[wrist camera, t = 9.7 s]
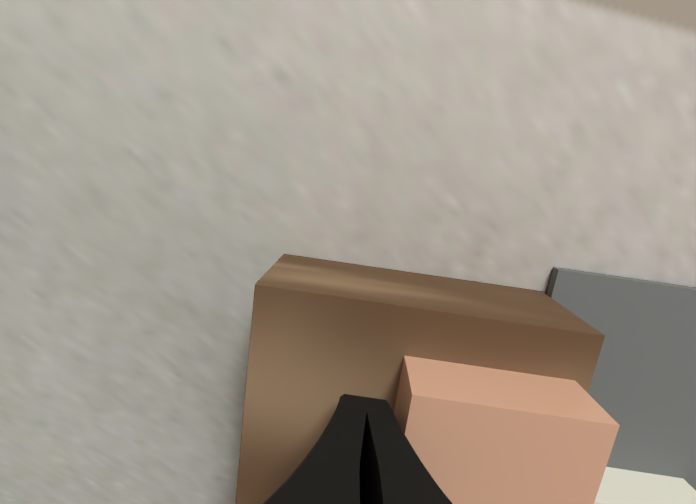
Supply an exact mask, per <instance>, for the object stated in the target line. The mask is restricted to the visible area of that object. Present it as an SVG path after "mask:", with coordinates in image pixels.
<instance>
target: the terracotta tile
mask: <svg viewBox="0 0 696 504" xmlns="http://www.w3.org/2000/svg"><path fill="white" fill-rule="evenodd" d="M394 415H395V417H396V419H397V421H398V423H399V425H400V427H401V428H402V430H403V432H404V434H405V436H406V437H407V439H408V441H409V442H410V444H411V446H412V447H413V449H414V451H415V452H416V454H417V456H418V457H419V459H420V460H421V462H422V463H423V465H424V466H425V468H426V469H427V471H428V472H429V473H430V475H431V476H432V478H433V479H434V481H435V482H436V483H437V485H438V486H439V487H440V489H441V490H442V491H443V493H444V494H445V495H446V496H447V497H448V499H449V500H450V501H451V502H452V504H594V502H595V499H596V496H597V493H598V490H599V487H600V484H601V481H602V478H603V475H604V472H605V469H606V466H607V463H608V460H609V457H610V453H611V450H612V447H613V444H614V441H615V438H616V435H617V432H618V429H619V426H620V425H619V424H618V423H617V422H616V421H615V420H614V419H613V418H612V417H611V416H610V415H609V414H608V413H607V412H606V411H605V410H604V409H603V408H602V407H601V406H600V405H599V404H598V403H597V402H596V401H595V400H594V399H593V398H592V397H591V396H590V395H589V394H588V393H587V392H586V391H585V390H584V389H583V388H582V387H581V386H580V385H579V384H578V383H577V382H576V381H575V380H569V379H562V378H555V377H548V376H541V375H534V374H528V373H521V372H514V371H507V370H500V369H493V368H486V367H480V366H473V365H466V364H459V363H452V362H445V361H439V360H432V359H425V358H418V357H411V356H404V359H403V365H402V370H401V376H400V381H399V387H398V392H397V398H396V403H395V409H394Z"/></svg>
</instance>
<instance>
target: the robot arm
mask: <svg viewBox="0 0 696 504" xmlns="http://www.w3.org/2000/svg"><path fill="white" fill-rule="evenodd" d="M263 504H452V502H451V501H450V500H449V499H448V497H447V496H446V495H445V494H444V493H443V491H442V490H441V489H440V487H439V486H438V485H437V483H436V482H435V481H434V479H433V478H432V476H431V475H430V473H429V472H428V471H427V469H426V468H425V466H424V465H423V463H422V462H421V460H420V459H419V457H418V456H417V454H416V452H415V451H414V449H413V447H412V446H411V444H410V442H409V441H408V439H407V437H406V436H405V434H404V432H403V430H402V428H401V427H400V425H399V423H398V421H397V419H396V417H395V415H394V413H393V411H392V409H391V407H390V405H389V403H388V402H387V400H384V399H377V398H370V397H363V396H356V395H349V394H343V395H342V396H340V398H339V402H338V405H337V408H336V410H335V412H334V414H333V416H332V418H331V420H330V422H329V423H328V425H327V427H326V428H325V430H324V432H323V433H322V435H321V437H320V438H319V440H318V441H317V442H316V444H315V445H314V447H313V448H312V449H311V451H310V452H309V453H308V455H307V456H306V458H305V459H304V460H303V461H302V463H301V464H300V465H299V466H298V468H297V469H296V470H295V471H294V472H293V473H292V474H291V476H290V477H289V478H288V479H287V480H286V481H285V482H284V483H283V484H282V485H281V486H280V487H279V488H278V489H277V490H276V491H275V492H274V493H273V494H272V495H271V496H270V497H269V498H268V499H267V500H266V501H265V502H264V503H263Z"/></svg>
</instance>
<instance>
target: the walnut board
mask: <svg viewBox="0 0 696 504" xmlns="http://www.w3.org/2000/svg"><path fill="white" fill-rule="evenodd" d="M604 338H605V335H603V334H602V333H600V332H599V331H598V330H596V329H595V328H593V327H592V326H590V325H589V324H588V323H586V322H585V321H583V320H582V319H580V318H579V317H578V316H576V315H575V314H573V313H572V312H570V311H569V310H568V309H566V308H565V307H563V306H562V305H560V304H559V303H558V302H556V301H555V300H553V299H552V298H550V297H549V296H548V295H546V294H545V293H543V292H542V291H536V290H529V289H522V288H515V287H508V286H501V285H494V284H487V283H481V282H474V281H467V280H460V279H453V278H446V277H439V276H432V275H425V274H419V273H412V272H405V271H398V270H391V269H384V268H377V267H370V266H363V265H356V264H350V263H343V262H336V261H329V260H322V259H315V258H308V257H301V256H294V255H288V254H284V255H283V256H282V257H281V258H280V259H279V260H278V261H277V262H276V263H275V264H274V265H273V266H272V267H271V268H270V269H269V270H268V271H267V272H266V273H265V275H264V276H263V277H262V278H261V279H260V280H259V281H258V282H257V283H256V284H255V290H254V301H253V312H252V324H251V335H250V346H249V357H248V369H247V380H246V391H245V402H244V414H243V425H242V436H241V448H240V459H239V470H238V481H237V493H236V504H263V503H264V502H265V501H266V500H267V499H268V498H269V497H270V496H271V495H272V494H273V493H274V492H275V491H276V490H277V489H278V488H279V487H280V486H281V485H282V484H283V483H284V482H285V481H286V480H287V479H288V478H289V477H290V476H291V474H292V473H293V472H294V471H295V470H296V469H297V468H298V466H299V465H300V464H301V463H302V461H303V460H304V459H305V458H306V456H307V455H308V453H309V452H310V451H311V449H312V448H313V447H314V445H315V444H316V442H317V441H318V440H319V438H320V437H321V435H322V433H323V432H324V430H325V428H326V427H327V425H328V423H329V422H330V420H331V418H332V416H333V414H334V412H335V410H336V408H337V405H338V402H339V398H340V396H342V395H343V394H349V395H356V396H363V397H370V398H377V399H384V400H387V402H388V403H389V405H390V407H391V409H392V411H393V413H394V409H395V403H396V398H397V392H398V387H399V381H400V376H401V370H402V365H403V359H404V356H411V357H418V358H425V359H432V360H439V361H445V362H452V363H459V364H466V365H473V366H480V367H486V368H493V369H500V370H507V371H514V372H521V373H528V374H534V375H541V376H548V377H555V378H562V379H569V380H575V381H576V382H577V383H578V384H579V385H580V386H581V387H582V388H583V389H584V390H585V391H586V392H587V393H588V390H589V387H590V384H591V380H592V377H593V374H594V371H595V367H596V364H597V361H598V357H599V354H600V351H601V348H602V344H603V341H604Z"/></svg>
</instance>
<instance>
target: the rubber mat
mask: <svg viewBox="0 0 696 504" xmlns="http://www.w3.org/2000/svg"><path fill="white" fill-rule="evenodd" d="M546 295H548V296H549V297H550V298H552V299H553V300H555V301H556V302H558V303H559V304H560V305H562V306H563V307H565V308H566V309H568V310H569V311H570V312H572V313H573V314H575V315H576V316H578V317H579V318H580V319H582V320H583V321H585V322H586V323H588V324H589V325H590V326H592V327H593V328H595V329H596V330H598V331H599V332H600V333H602V334H603V335H605V338H604V341H603V344H602V348H601V351H600V354H599V357H598V361H597V364H596V367H595V371H594V374H593V377H592V380H591V384H590V387H589V390H588V394H589V395H590V396H591V397H592V398H593V399H594V400H595V401H596V402H597V403H598V404H599V405H600V406H601V407H602V408H603V409H604V410H605V411H606V412H607V413H608V414H609V415H610V416H611V417H612V418H613V419H614V420H615V421H616V422H617V423H618V424H619V425H620V426H619V429H618V432H617V435H616V438H615V441H614V444H613V447H612V450H611V453H610V457H609V460H608V463H607V466H606V467H611V468H618V469H624V470H631V471H637V472H644V473H651V474H657V475H664V476H670V477H677V478H683V479H684V480H685V481H686V482H687V483H688V484H689V485H690V486H692V487H693V488H694V489H695V490H696V288H695V287H688V286H681V285H674V284H667V283H660V282H653V281H646V280H639V279H632V278H626V277H619V276H612V275H605V274H598V273H591V272H584V271H577V270H570V269H563V268H556V267H553V271H552V275H551V278H550V282H549V286H548V290H547V294H546Z"/></svg>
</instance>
